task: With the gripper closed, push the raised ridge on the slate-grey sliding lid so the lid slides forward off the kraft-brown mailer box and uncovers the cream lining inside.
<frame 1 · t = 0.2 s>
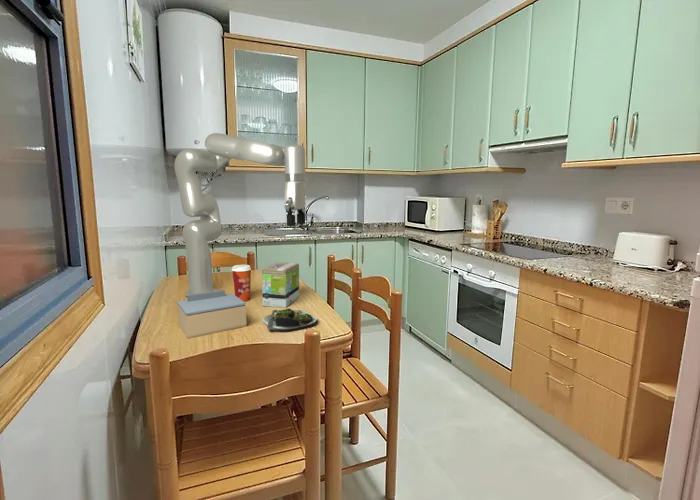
hand: (296, 224, 142), 31 cm above the table, tool pointing down, fingers open, 9 cm apart
paper cup: (243, 300, 151), on the table
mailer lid: (211, 300, 121), point 9 cm above the table, slide at 0.0 cm
tea box: (281, 302, 149), on the table
mailer box: (212, 325, 122), on the table
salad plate: (289, 324, 125), on the table
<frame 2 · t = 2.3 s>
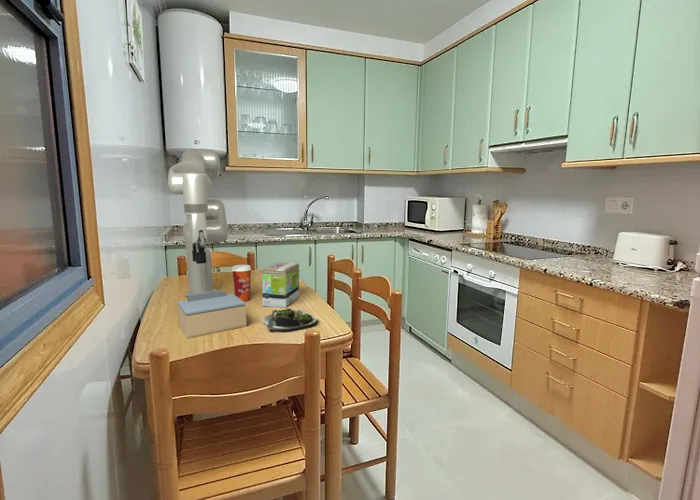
hand: (199, 261, 130), 19 cm above the table, tool pointing down, fingers open, 4 cm apart
nothing on the table moved.
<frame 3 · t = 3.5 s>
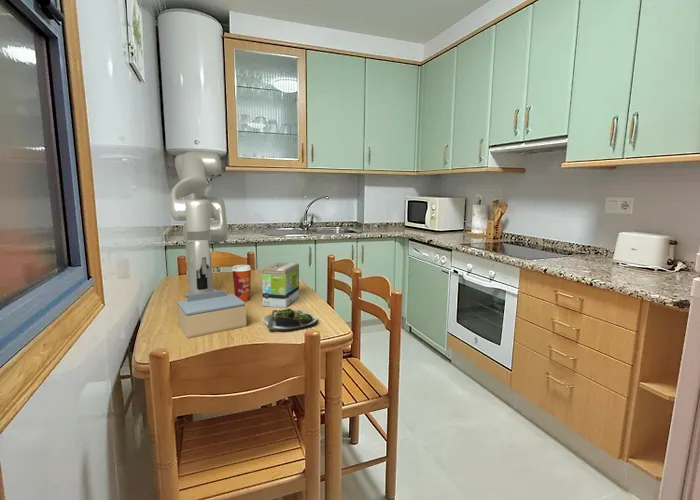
hand: (202, 288, 129), 10 cm above the table, tool pointing down, fingers closed
nothing on the table moved.
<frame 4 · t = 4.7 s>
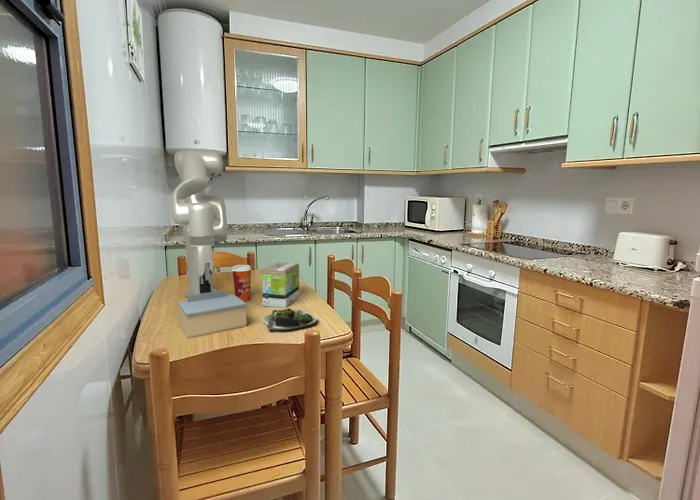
hand: (205, 294, 126), 9 cm above the table, tool pointing down, fingers closed
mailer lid: (211, 300, 120), point 9 cm above the table, slide at 0.7 cm, touching gripper
everything else where it was.
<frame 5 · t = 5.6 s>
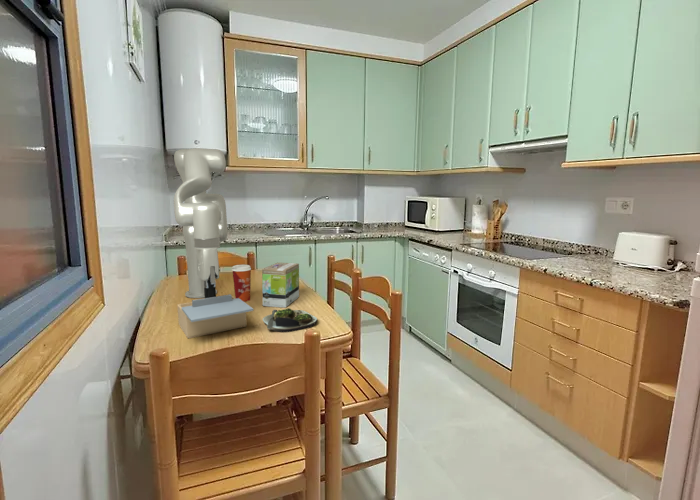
hand: (210, 299, 121), 9 cm above the table, tool pointing down, fingers closed
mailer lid: (217, 305, 115), point 9 cm above the table, slide at 7.1 cm, touching gripper
everything else where it was.
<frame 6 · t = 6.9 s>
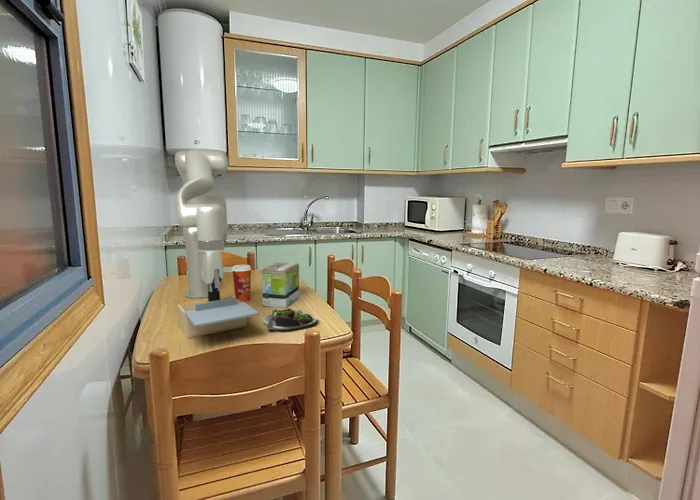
hand: (214, 302, 117), 9 cm above the table, tool pointing down, fingers closed
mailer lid: (221, 309, 111), point 9 cm above the table, slide at 11.7 cm, touching gripper
everything else where it was.
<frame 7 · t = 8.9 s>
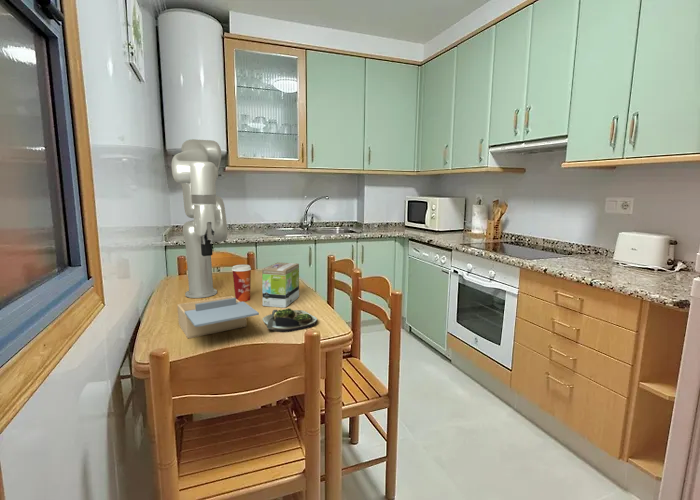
hand: (207, 255, 125), 22 cm above the table, tool pointing down, fingers closed
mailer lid: (221, 309, 111), point 9 cm above the table, slide at 11.7 cm
everything else where it was.
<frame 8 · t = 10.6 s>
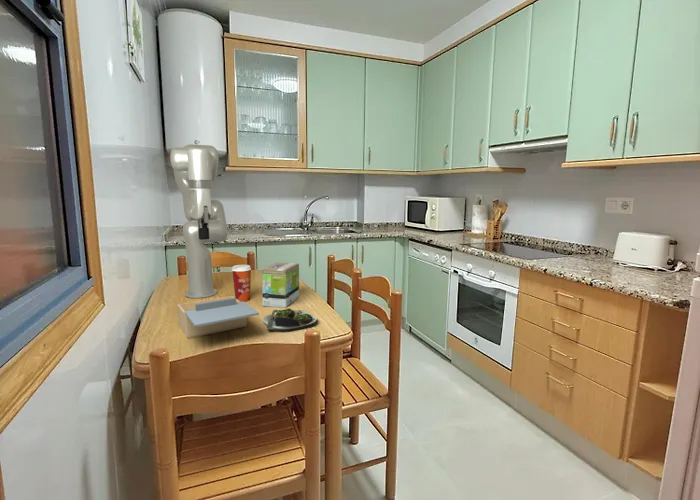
hand: (204, 239, 130), 27 cm above the table, tool pointing down, fingers closed
nothing on the table moved.
at the end: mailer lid slide at 11.7 cm; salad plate moved 0.6 cm from its start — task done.
